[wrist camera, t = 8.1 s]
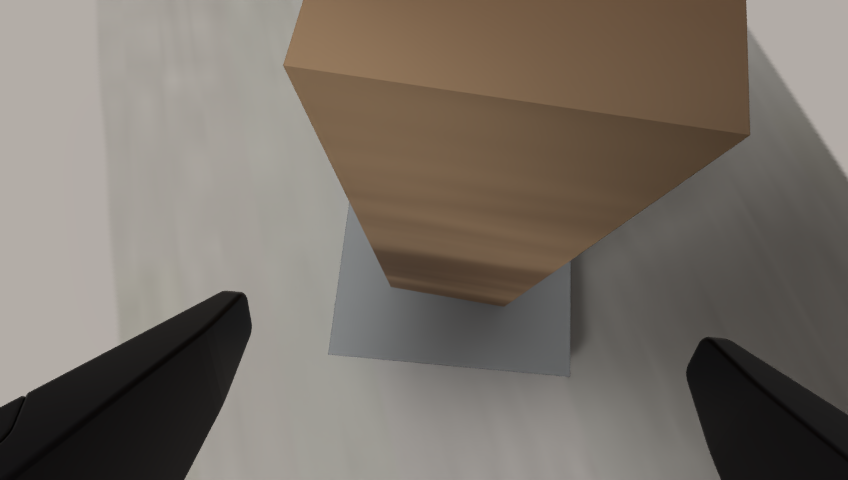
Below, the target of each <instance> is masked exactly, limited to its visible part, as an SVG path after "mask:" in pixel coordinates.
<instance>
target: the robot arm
mask: <svg viewBox="0 0 848 480" xmlns="http://www.w3.org/2000/svg"><path fill="white" fill-rule="evenodd" d="M251 329H252V323H251V317H250V312H249V306H248V300H247V297H246V295H245V294H244V293H242V292H235V291H222V292H220V293H218V294H216V295H214V296H212V297H210V298H208V299H207V300H205V301H203V302H201V303H199V304H197V305H195V306H193V307H191V308H189V309H187V310H186V311H184V312H182V313H180V314H178V315H176V316H174V317H172V318H170V319H168V320H166V321H165V322H163V323H161V324H159V325H157V326H155V327H153V328H151V329H149V330H147V331H145V332H144V333H142V334H140V335H138V336H136V337H134V338H132V339H130V340H128V341H126V342H124V343H123V344H121V345H119V346H117V347H115V348H113V349H111V350H109V351H107V352H105V353H103V354H101V355H100V356H98V357H96V358H94V359H92V360H90V361H88V362H86V363H84V364H82V365H80V366H79V367H77V368H75V369H73V370H71V371H69V372H67V373H65V374H63V375H61V376H60V377H58V378H56V379H54V380H52V381H50V382H48V383H46V384H44V385H42V386H40V387H38V388H37V389H35V390H33V391H31V392H29V393H28V394H27V395H26V397H24V396H21V397H19V398H17V399H15V400H13V401H11V402H10V403H8V404H6V405H4V406H2V407H0V480H184V479H185V477H186V475H187V473H188V472H189V470H190V468H191V466H192V464H193V462H194V460H195V458H196V456H197V454H198V452H199V450H200V448H201V447H202V445H203V443H204V441H205V439H206V437H207V435H208V433H209V431H210V429H211V427H212V425H213V423H214V422H215V420H216V418H217V416H218V414H219V412H220V410H221V408H222V406H223V404H224V401H225V399H226V396H227V394H228V392H229V389H230V386H231V384H232V381H233V379H234V376H235V374H236V371H237V368H238V366H239V363H240V361H241V358H242V356H243V353H244V350H245V348H246V345H247V343H248V340H249V337H250V335H251ZM686 377H687V382H688V385H689V388H690V391H691V394H692V398H693V401H694V404H695V407H696V410H697V414H698V417H699V420H700V423H701V426H702V430H703V433H704V436H705V439H706V442H707V445H708V448H709V451H710V454H711V456H712V459H713V461H714V464H715V466H716V469H717V471H718V474H719V476H720V478H721V480H848V415H847V414H845V413H844V412H842V411H841V410H839V409H837V408H836V407H834V406H833V405H831V404H830V403H828V402H826V401H825V400H823V399H822V398H820V397H819V396H817V395H815V394H814V393H812V392H811V391H809V390H808V389H806V388H804V387H803V386H801V385H800V384H798V383H797V382H795V381H793V380H792V379H790V378H789V377H787V376H786V375H784V374H782V373H781V372H779V371H778V370H776V369H775V368H773V367H771V366H770V365H768V364H767V363H765V362H764V361H762V360H760V359H759V358H757V357H756V356H754V355H753V354H751V353H749V352H748V351H746V350H745V349H743V348H741V347H740V346H738V345H737V344H735V343H734V342H732V341H730V340H728V339H724V338H713V337H706V338H703V339H702V340H701V341H700V343H699V345H698V347H697V348H696V350H695V352H694V354H693V356H692V358H691V360H690V362H689V364H688V367H687V371H686Z"/></svg>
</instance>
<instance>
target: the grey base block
mask: <svg viewBox="0 0 848 480" xmlns="http://www.w3.org/2000/svg"><path fill="white" fill-rule="evenodd" d="M570 283H571V260H570V261H569V262H568V263H566V264H565V265H563V266H562V267H560V268H559V269H558V270H556V271H555V272H553V273H552V274H550V275H549V276H548V277H546V278H545V279H543V280H542V281H540V282H539V283H538V284H536V285H535V286H533V287H532V288H530V289H529V290H527V291H526V292H525V293H523V294H522V295H520V296H519V297H517V298H516V299H515V300H513V301H512V302H510V303H509V304H507V305H506V306H505V307H502V306H497V305H491V304H485V303H479V302H474V301H468V300H462V299H457V298H451V297H445V296H439V295H434V294H428V293H422V292H417V291H411V290H405V289H399V288H394V287H391V286H390V284H389V282H388V280H387V278H386V276H385V274H384V272H383V270H382V268H381V266H380V264H379V262H378V260H377V257H376V255H375V253H374V251H373V249H372V247H371V245H370V243H369V241H368V239H367V237H366V235H365V233H364V231H363V229H362V227H361V225H360V222H359V220H358V218H357V216H356V214H355V212H354V210H353V208H352V206H351V204H350V202H349V207H348V215H347V222H346V229H345V236H344V243H343V251H342V258H341V265H340V272H339V279H338V287H337V294H336V301H335V308H334V316H333V323H332V330H331V337H330V344H329V352H328V355H339V356H350V357H361V358H371V359H382V360H393V361H404V362H415V363H426V364H437V365H447V366H458V367H469V368H480V369H491V370H502V371H513V372H523V373H534V374H545V375H556V376H567V377H570Z"/></svg>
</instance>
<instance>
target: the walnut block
mask: <svg viewBox="0 0 848 480" xmlns="http://www.w3.org/2000/svg"><path fill="white" fill-rule="evenodd" d="M746 17H747V15H746V0H303V3H302V6H301V9H300V13H299V16H298V19H297V22H296V26H295V29H294V32H293V35H292V39H291V42H290V45H289V48H288V52H287V55H286V58H285V61H284V64H283V66H284V68H285V70H286V72H287V74H288V76H289V78H290V80H291V82H292V84H293V86H294V89H295V91H296V93H297V95H298V97H299V99H300V101H301V103H302V105H303V107H304V109H305V111H306V113H307V115H308V117H309V119H310V122H311V124H312V126H313V128H314V130H315V132H316V134H317V136H318V138H319V140H320V142H321V144H322V146H323V148H324V150H325V152H326V154H327V157H328V159H329V161H330V163H331V165H332V167H333V169H334V171H335V173H336V175H337V177H338V179H339V181H340V183H341V185H342V187H343V189H344V192H345V194H346V196H347V198H348V200H349V202H350V204H351V206H352V208H353V210H354V212H355V214H356V216H357V218H358V220H359V222H360V225H361V227H362V229H363V231H364V233H365V235H366V237H367V239H368V241H369V243H370V245H371V247H372V249H373V251H374V253H375V255H376V257H377V260H378V262H379V264H380V266H381V268H382V270H383V272H384V274H385V276H386V278H387V280H388V282H389V284H390V286H391V287H394V288H399V289H405V290H411V291H417V292H422V293H428V294H434V295H439V296H445V297H451V298H457V299H462V300H468V301H474V302H479V303H485V304H491V305H497V306H502V307H505V306H506V305H507V304H509V303H510V302H512V301H513V300H515V299H516V298H517V297H519V296H520V295H522V294H523V293H525V292H526V291H527V290H529V289H530V288H532V287H533V286H535V285H536V284H538V283H539V282H540V281H542V280H543V279H545V278H546V277H548V276H549V275H550V274H552V273H553V272H555V271H556V270H558V269H559V268H560V267H562V266H563V265H565V264H566V263H568V262H569V261H570V260H572V259H573V258H575V257H576V256H578V255H579V254H580V253H582V252H583V251H585V250H586V249H588V248H589V247H590V246H592V245H593V244H595V243H596V242H598V241H599V240H600V239H602V238H603V237H605V236H606V235H608V234H609V233H611V232H612V231H613V230H615V229H616V228H618V227H619V226H621V225H622V224H623V223H625V222H626V221H628V220H629V219H631V218H632V217H633V216H635V215H636V214H638V213H639V212H641V211H642V210H643V209H645V208H646V207H648V206H649V205H651V204H652V203H653V202H655V201H656V200H658V199H659V198H661V197H662V196H663V195H665V194H666V193H668V192H669V191H671V190H672V189H674V188H675V187H676V186H678V185H679V184H681V183H682V182H684V181H685V180H686V179H688V178H689V177H691V176H692V175H694V174H695V173H696V172H698V171H699V170H701V169H702V168H704V167H705V166H706V165H708V164H709V163H711V162H712V161H714V160H715V159H716V158H718V157H719V156H721V155H722V154H724V153H725V152H726V151H728V150H729V149H731V148H732V147H734V146H735V145H736V144H738V143H739V142H741V141H742V140H744V139H745V138H747V137H748V136H749V135H750V118H749V83H748V48H747V18H746Z"/></svg>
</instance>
